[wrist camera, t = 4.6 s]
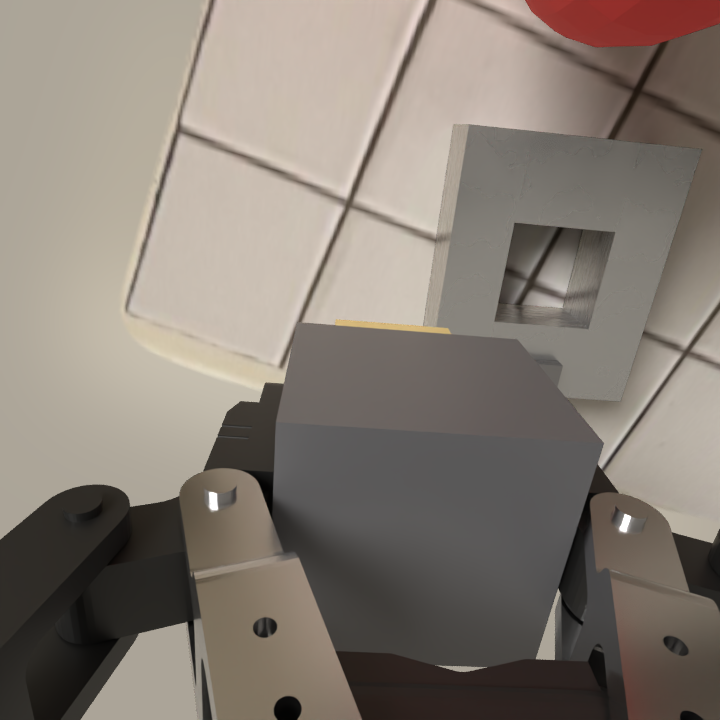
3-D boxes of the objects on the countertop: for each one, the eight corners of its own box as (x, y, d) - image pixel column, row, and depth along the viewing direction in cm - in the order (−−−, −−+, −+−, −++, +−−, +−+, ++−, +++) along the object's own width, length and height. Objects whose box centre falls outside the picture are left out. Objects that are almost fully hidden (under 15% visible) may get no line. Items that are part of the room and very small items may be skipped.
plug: (484, 300, 15) (603, 442, 8) (455, 452, 17) (532, 668, 10) (305, 285, 15) (276, 421, 8) (296, 442, 17) (266, 658, 10)
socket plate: (660, 146, 26) (712, 150, 22) (593, 374, 30) (627, 408, 27) (453, 124, 25) (472, 124, 21) (417, 361, 30) (428, 394, 26)
